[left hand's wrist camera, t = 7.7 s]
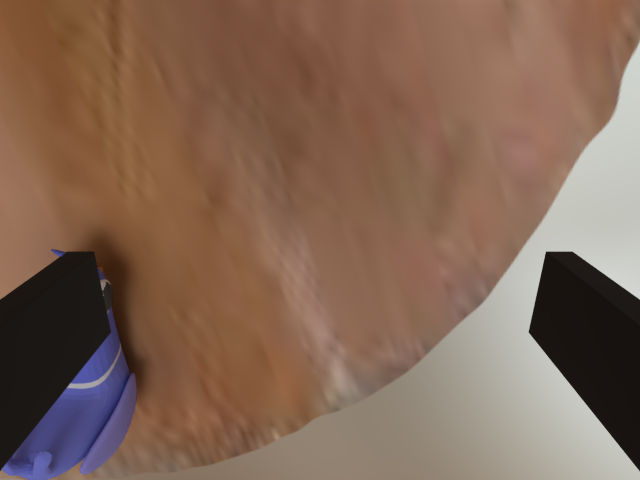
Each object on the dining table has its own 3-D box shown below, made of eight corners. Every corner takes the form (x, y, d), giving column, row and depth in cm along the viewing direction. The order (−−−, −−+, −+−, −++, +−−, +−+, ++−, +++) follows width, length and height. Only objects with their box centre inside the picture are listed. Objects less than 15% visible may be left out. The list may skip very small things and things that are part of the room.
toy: (155, 388, 54) (150, 223, 40) (99, 539, 40) (63, 366, 26) (73, 379, 53) (40, 206, 39) (-13, 531, 39) (-113, 346, 25)
